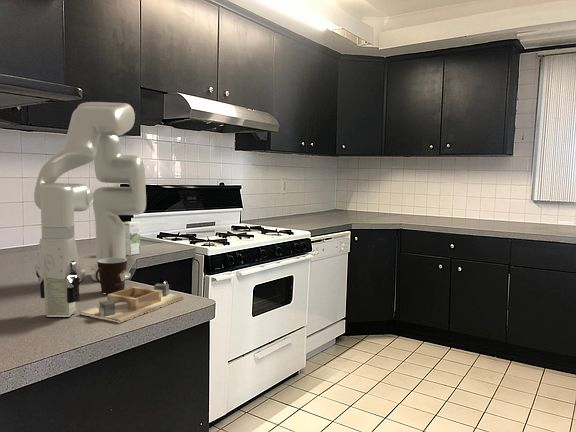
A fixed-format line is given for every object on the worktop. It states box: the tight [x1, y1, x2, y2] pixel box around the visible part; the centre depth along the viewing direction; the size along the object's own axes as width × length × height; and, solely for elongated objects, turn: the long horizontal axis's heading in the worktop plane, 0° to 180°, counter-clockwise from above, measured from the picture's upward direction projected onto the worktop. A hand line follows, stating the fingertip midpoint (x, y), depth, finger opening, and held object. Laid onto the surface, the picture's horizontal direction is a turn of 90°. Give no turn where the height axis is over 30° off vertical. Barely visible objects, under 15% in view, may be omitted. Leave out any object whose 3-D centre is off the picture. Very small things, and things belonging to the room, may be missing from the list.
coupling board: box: [79, 283, 184, 322], centre depth 131 cm, size 14×25×4 cm, turn 155°
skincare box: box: [43, 272, 77, 316], centre depth 122 cm, size 6×4×12 cm
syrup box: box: [122, 220, 141, 257], centre depth 208 cm, size 6×6×14 cm
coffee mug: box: [96, 258, 128, 294], centre depth 144 cm, size 12×9×10 cm
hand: (59, 299), depth 122 cm, fingers open, 9 cm apart
